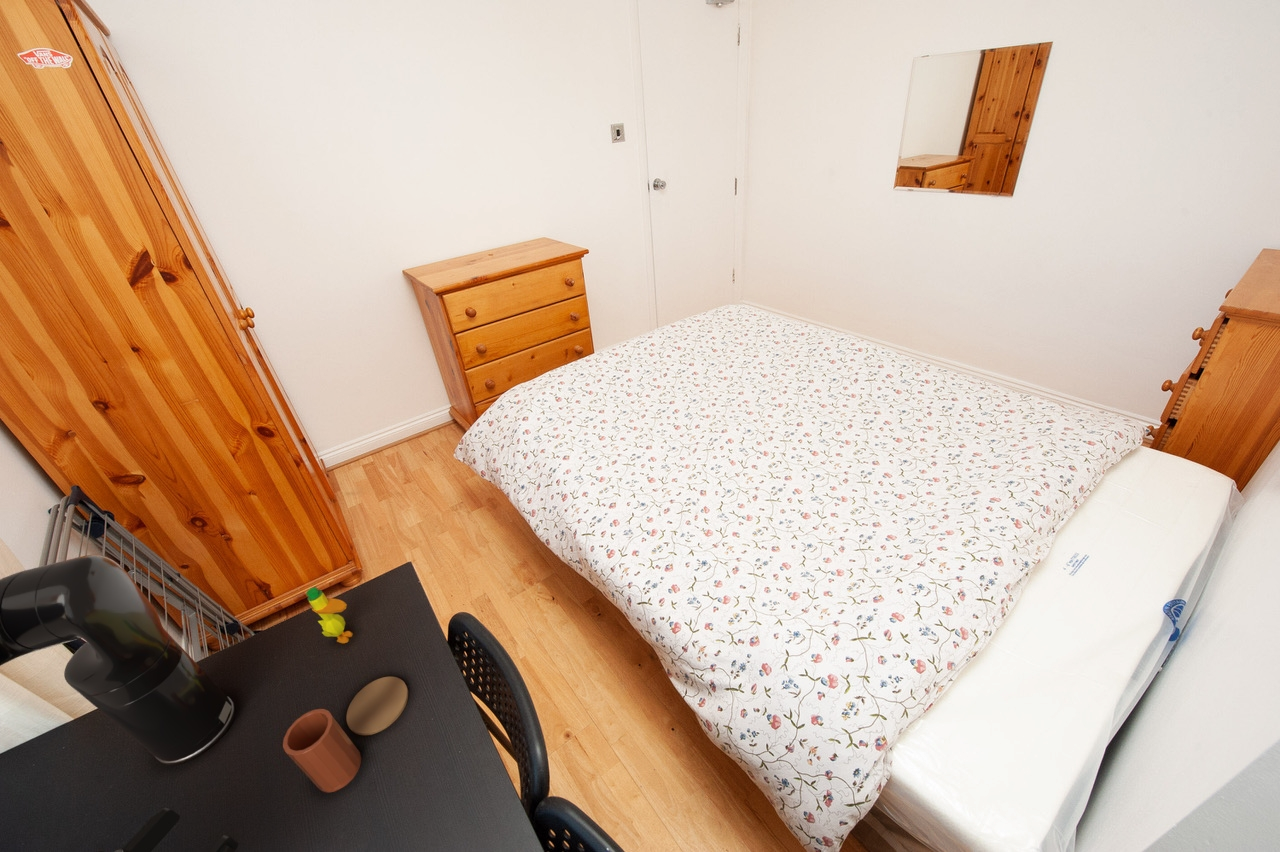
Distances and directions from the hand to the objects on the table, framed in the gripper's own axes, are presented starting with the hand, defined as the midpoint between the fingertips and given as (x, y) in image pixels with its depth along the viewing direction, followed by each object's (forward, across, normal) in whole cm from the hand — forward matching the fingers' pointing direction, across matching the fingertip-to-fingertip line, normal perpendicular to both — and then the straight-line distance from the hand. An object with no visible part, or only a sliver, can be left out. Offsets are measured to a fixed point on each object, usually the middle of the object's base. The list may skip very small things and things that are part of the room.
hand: (202, 824), depth 50 cm
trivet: (+20, +1, +14) cm, 24 cm away
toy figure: (+28, +15, +14) cm, 34 cm away
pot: (+11, 0, +14) cm, 18 cm away
